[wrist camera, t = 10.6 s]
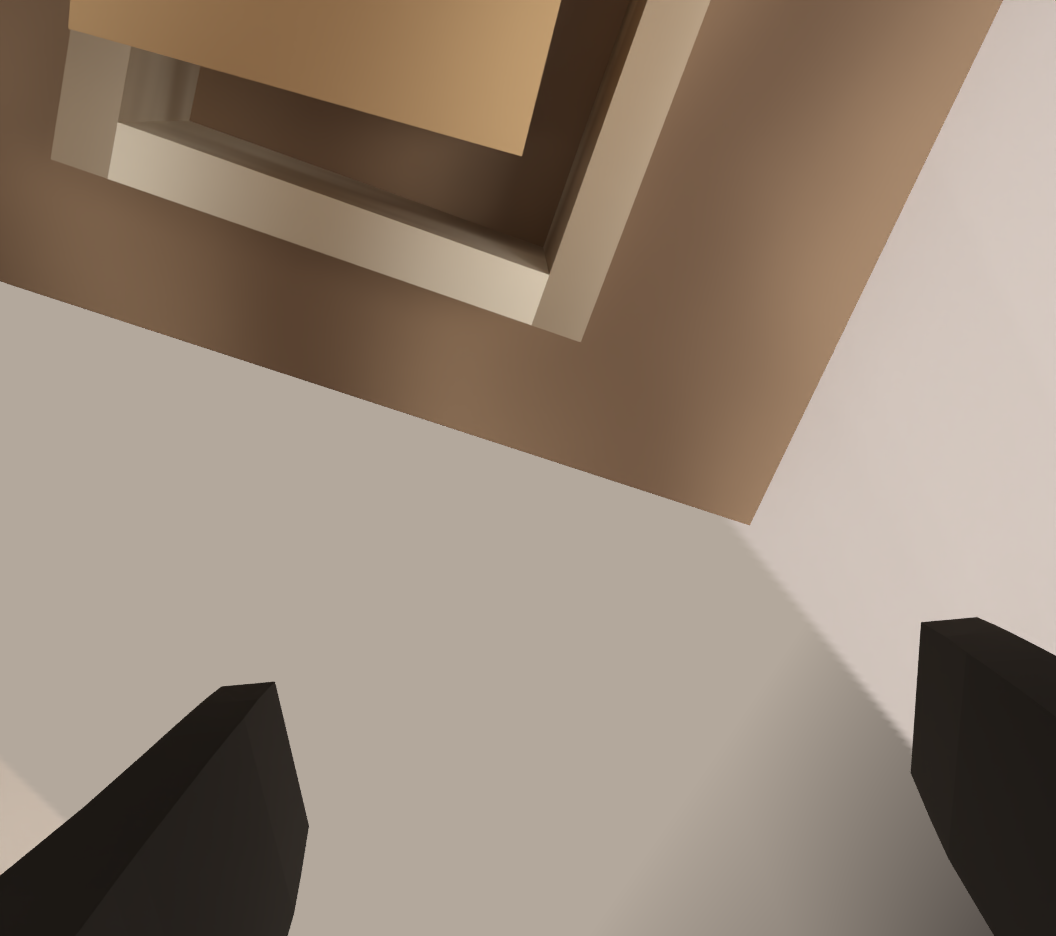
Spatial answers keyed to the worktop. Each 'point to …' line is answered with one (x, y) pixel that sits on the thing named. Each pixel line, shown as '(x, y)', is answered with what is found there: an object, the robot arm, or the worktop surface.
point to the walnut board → (506, 222)
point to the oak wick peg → (360, 53)
